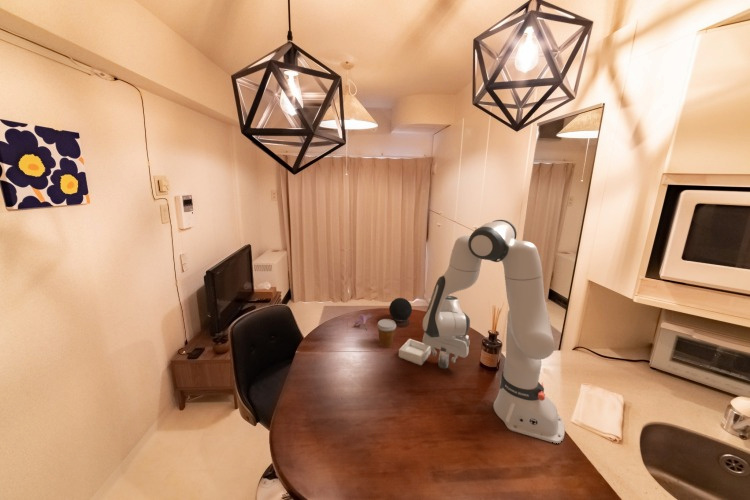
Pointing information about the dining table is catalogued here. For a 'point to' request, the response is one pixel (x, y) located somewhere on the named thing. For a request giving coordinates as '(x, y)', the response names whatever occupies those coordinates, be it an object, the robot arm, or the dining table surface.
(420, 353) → the white square tray
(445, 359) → the salt shaker
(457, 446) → the dining table surface
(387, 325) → the disposable coffee cup
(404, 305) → the black ball on stand
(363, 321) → the lily
